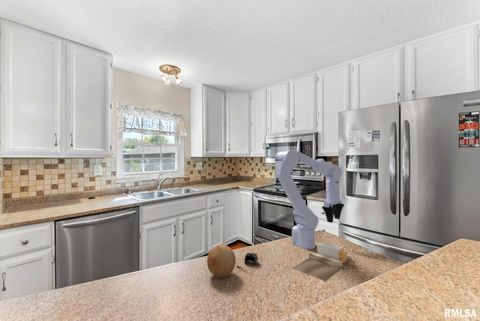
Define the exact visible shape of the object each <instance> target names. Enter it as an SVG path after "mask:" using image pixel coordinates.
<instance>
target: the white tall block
mask: <svg viewBox="0 0 480 321" xmlns="http://www.w3.org/2000/svg"><path fill="white" fill-rule="evenodd" d="M316 246H317V247H316V253H317V254H319V255H322V256H326V257H329V258H332V259H335V260H339V261H342V262H343V263H344V262H345V261H346V260H347V254H348V251H347V250H344V247H343V246H340V245H336V244H332V243H328V242H325V241H321V242H319V243H316Z"/></svg>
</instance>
